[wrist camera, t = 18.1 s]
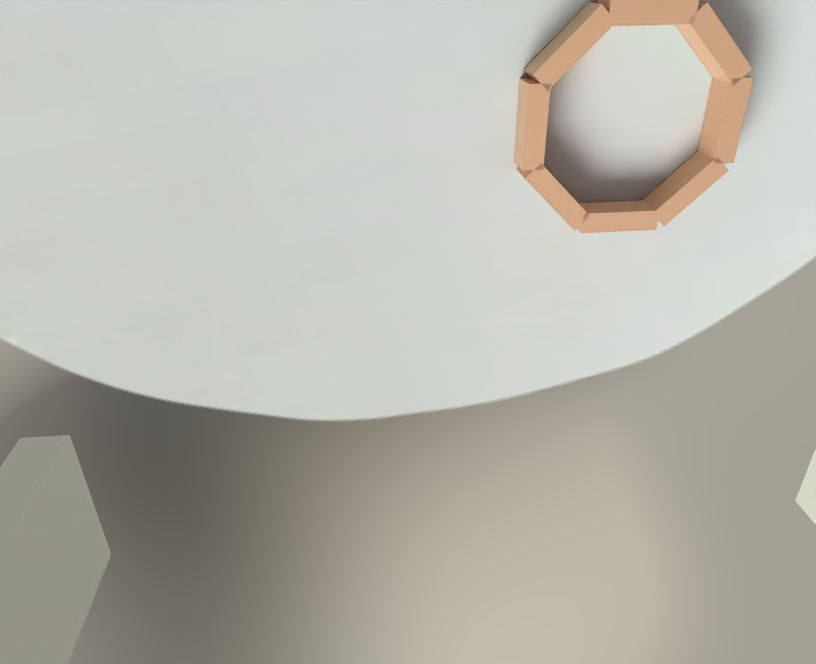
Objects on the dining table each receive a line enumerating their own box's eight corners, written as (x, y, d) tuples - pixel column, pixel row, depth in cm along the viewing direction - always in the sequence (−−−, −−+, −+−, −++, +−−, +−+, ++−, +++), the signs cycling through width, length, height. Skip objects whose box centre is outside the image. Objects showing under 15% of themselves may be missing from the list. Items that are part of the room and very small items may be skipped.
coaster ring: (525, -1, 34) (535, 1, 32) (751, -5, 34) (773, -4, 33) (509, 224, 40) (517, 235, 38) (702, 216, 41) (718, 226, 39)
